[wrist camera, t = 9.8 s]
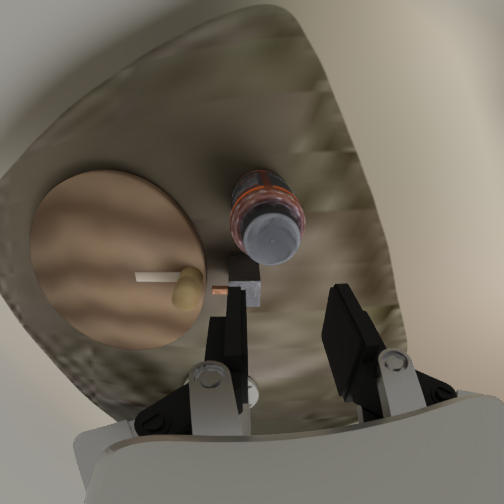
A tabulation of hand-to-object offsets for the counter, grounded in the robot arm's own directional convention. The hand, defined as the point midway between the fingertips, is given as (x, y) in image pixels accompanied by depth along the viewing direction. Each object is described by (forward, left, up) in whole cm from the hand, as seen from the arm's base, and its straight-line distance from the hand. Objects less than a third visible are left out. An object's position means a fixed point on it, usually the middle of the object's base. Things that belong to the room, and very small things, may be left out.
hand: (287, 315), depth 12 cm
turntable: (-8, +18, -19) cm, 28 cm away
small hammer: (-8, +2, -19) cm, 21 cm away
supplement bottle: (0, 0, -20) cm, 20 cm away
